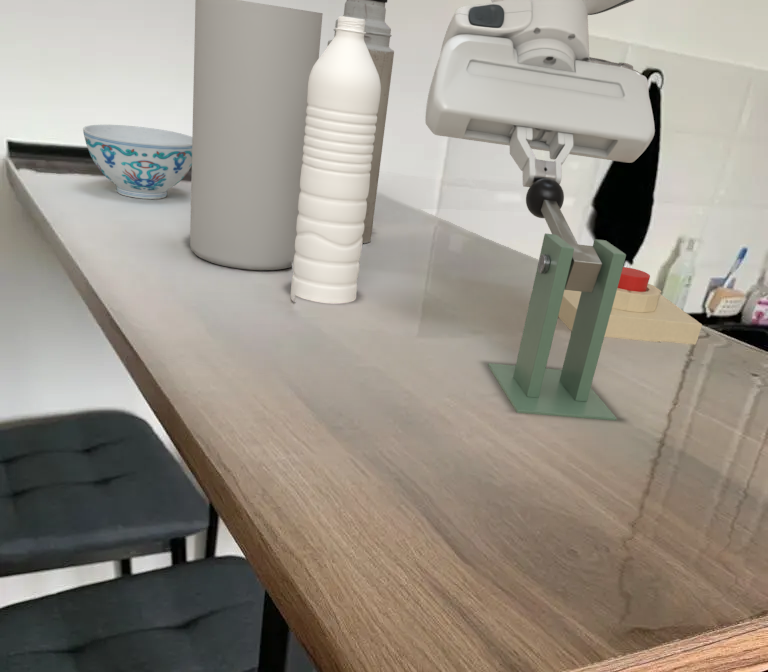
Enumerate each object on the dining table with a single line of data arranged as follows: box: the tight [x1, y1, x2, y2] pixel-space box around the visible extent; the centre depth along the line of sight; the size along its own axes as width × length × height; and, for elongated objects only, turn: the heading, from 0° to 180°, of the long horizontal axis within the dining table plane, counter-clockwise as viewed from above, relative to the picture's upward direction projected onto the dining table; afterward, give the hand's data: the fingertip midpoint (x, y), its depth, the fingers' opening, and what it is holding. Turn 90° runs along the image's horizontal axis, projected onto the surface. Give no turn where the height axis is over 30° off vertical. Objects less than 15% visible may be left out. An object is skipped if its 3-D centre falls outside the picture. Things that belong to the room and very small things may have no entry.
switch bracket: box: [487, 233, 627, 421], centre depth 67 cm, size 10×8×13 cm
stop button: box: [618, 266, 651, 292], centre depth 89 cm, size 4×4×2 cm
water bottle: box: [290, 15, 381, 305], centre depth 81 cm, size 9×6×25 cm
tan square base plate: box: [558, 283, 703, 346], centre depth 90 cm, size 13×11×5 cm
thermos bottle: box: [327, 0, 395, 245], centre depth 107 cm, size 8×8×28 cm
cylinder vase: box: [189, 0, 324, 271], centre depth 92 cm, size 12×12×25 cm
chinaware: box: [82, 124, 192, 200], centre depth 118 cm, size 15×15×8 cm
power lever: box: [525, 178, 602, 293], centre depth 69 cm, size 15×3×3 cm, turn 7°
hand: (542, 184), depth 74 cm, fingers closed, pressing on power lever
